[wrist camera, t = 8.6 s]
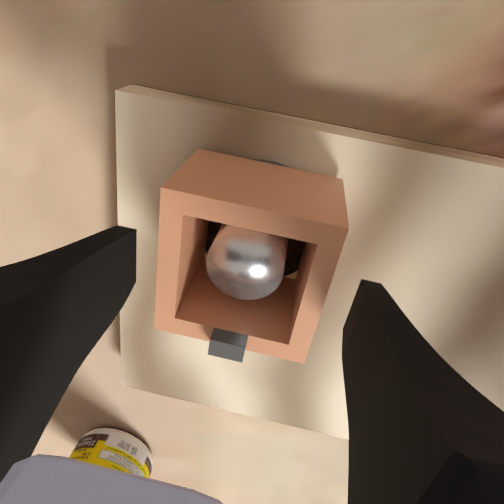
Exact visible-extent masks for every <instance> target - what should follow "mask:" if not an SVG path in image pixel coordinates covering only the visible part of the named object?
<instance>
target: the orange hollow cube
mask: <svg viewBox="0 0 504 504" xmlns="http://www.w3.org/2000/svg"><path fill="white" fill-rule="evenodd" d="M209 221H214V222H218V223H223V224H227V225H232V226H236V227H241V228H246V229H250V230H255V231H259V232H264V233H268V234H273V235H277V236H282V237H286V238H291V239H296V240H300V241H305V246H304V250H303V253H302V257H301V261H300V264H299V268H298V272H297V275H296V279H293V278H289V277H284V276H283V278H282V281H281V283H280V285H279V286H278V287H277V289H276V290H275V291H273V292H272V293H271V294H269V295H267V296H265V297H263V298H260V299H255V300H243V299H238V298H234V297H231V296H229V295H227V294H225V293H224V292H222V291H221V290H220V289H218V288H217V287H216V286H215V285H214V283H213V282H212V281H211V279H210V277H209V275H208V273H207V269H206V259H204V256H205V248H206V239H207V231H208V223H209ZM348 230H349V223H348V215H347V208H346V200H345V192H344V184H343V179H340V178H336V177H331V176H326V175H322V174H317V173H312V172H307V171H303V170H298V169H293V168H288V167H284V166H279V165H274V164H270V163H265V162H260V161H255V160H251V159H246V158H241V157H236V156H232V155H227V154H222V153H218V152H213V151H208V150H203V149H199V148H198V149H197V151H196V152H195V153H194V154H193V155H192V156H191V157H190V158H189V159H188V160H187V161H186V162H185V163H184V164H183V165H182V166H181V167H180V168H179V169H178V170H177V171H176V172H175V173H174V174H173V175H172V176H171V177H170V178H169V179H168V180H167V181H166V182H165V183H164V184H163V186H162V187H161V191H160V213H159V234H158V256H157V278H156V299H155V321H154V329H158V330H162V331H166V332H170V333H175V334H179V335H183V336H187V337H192V338H196V339H200V340H205V341H209V348H208V355H212V356H216V357H220V358H224V359H229V360H233V361H237V362H241V363H242V361H243V357H244V353H245V350H247V351H251V352H256V353H260V354H264V355H268V356H273V357H277V358H281V359H285V360H290V361H294V362H298V363H302V364H304V363H305V360H306V357H307V354H308V351H309V348H310V345H311V342H312V339H313V336H314V333H315V330H316V327H317V324H318V321H319V318H320V315H321V312H322V309H323V306H324V303H325V300H326V297H327V294H328V291H329V288H330V285H331V282H332V279H333V276H334V273H335V270H336V267H337V264H338V261H339V258H340V254H341V251H342V248H343V245H344V242H345V239H346V236H347V233H348Z"/></svg>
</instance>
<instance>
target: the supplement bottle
mask: <svg viewBox="0 0 504 504" xmlns="http://www.w3.org/2000/svg"><path fill="white" fill-rule="evenodd" d="M69 458H71V459H75V460H79V461H83V462H87V463H91V464H95V465H99V466H103V467H107V468H111V469H115V470H119V471H122V472H126V473H130V474H134V475H138V476H142V477H146V478H149V476H150V474H151V471H152V467H153V458H152V455H151V452H150V450H149V449H148V448H147V446H146V445H145V444H144V443H143V442H142V441H140V440H139V439H138V438H136V437H135V436H133V435H131V434H129V433H127V432H124V431H121V430H118V429H113V428H98V429H94V430H91V431H89V432H87V433H86V434H85V435H83V437H82V438H81V439H80V440H79V442H78V444H77V445H76V447H75V449H74V450H73V452H72V454H71V455H70V457H69Z"/></svg>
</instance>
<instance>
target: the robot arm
mask: <svg viewBox="0 0 504 504" xmlns="http://www.w3.org/2000/svg"><path fill="white" fill-rule="evenodd" d="M136 246H137V229H132V228H128V227H123V226H119V225H118V226H115V227H112V228H109V229H106V230H104V231H101V232H99V233H96V234H94V235H91V236H89V237H86V238H84V239H81V240H79V241H76V242H74V243H72V244H69V245H67V246H64V247H61V248H58V249H56V250H53V251H50V252H47V253H45V254H42V255H39V256H36V257H33V258H30V259H27V260H24V261H20V262H17V263H14V264H10V265H6V266H2V267H0V504H223V503H222V502H221V501H219V500H217V499H215V498H212V497H210V496H208V495H205V494H203V493H200V492H198V491H195V490H193V489H189V488H185V487H181V486H177V485H173V484H170V483H166V482H162V481H158V480H154V479H150V478H146V477H142V476H138V475H134V474H130V473H126V472H122V471H119V470H115V469H111V468H107V467H103V466H99V465H95V464H91V463H87V462H83V461H79V460H75V459H71V458H67V457H62V456H52V455H41V454H38V455H35V456H31V455H32V453H33V451H34V449H35V447H36V445H37V443H38V441H39V439H40V437H41V435H42V433H43V431H44V429H45V427H46V425H47V424H48V422H49V420H50V418H51V416H52V414H53V413H54V411H55V409H56V407H57V405H58V403H59V402H60V400H61V398H62V396H63V394H64V393H65V391H66V389H67V387H68V386H69V384H70V382H71V381H72V379H73V377H74V375H75V374H76V372H77V370H78V369H79V367H80V366H81V364H82V363H83V361H84V360H85V358H86V357H87V355H88V354H89V353H90V351H91V350H92V349H93V347H94V346H95V345H96V343H97V342H98V340H99V339H100V338H101V336H102V335H103V334H104V332H105V331H106V330H107V328H108V327H109V326H110V324H111V323H112V321H113V320H114V319H115V317H116V316H117V314H118V313H119V312H120V310H121V309H122V307H123V306H124V304H125V302H126V300H127V299H128V297H129V295H130V293H131V291H132V289H133V287H134V285H135V283H136ZM342 366H343V376H344V386H345V396H346V406H347V416H348V429H349V476H348V504H504V411H503V410H501V409H500V408H499V407H497V406H496V405H495V404H494V403H492V402H491V401H490V400H489V399H487V398H486V397H485V396H484V395H483V394H481V393H480V392H479V391H478V390H476V389H475V388H474V387H473V386H472V385H471V384H470V383H468V382H467V381H466V380H465V379H464V378H463V377H462V376H461V375H460V374H459V373H458V372H456V371H455V370H454V369H453V368H452V367H451V366H450V365H449V364H448V363H447V362H446V361H445V360H444V359H443V358H442V357H441V356H440V355H439V354H438V353H437V352H436V351H435V349H434V348H433V347H432V346H431V345H430V344H429V343H428V342H427V341H426V339H425V338H424V337H423V336H422V335H421V334H420V332H419V331H418V330H417V329H416V328H415V326H414V325H413V324H412V323H411V321H410V320H409V319H408V318H407V316H406V315H405V314H404V313H403V311H402V310H401V309H400V307H399V306H398V305H397V303H396V302H395V301H394V299H393V298H392V297H391V295H390V294H389V293H388V291H387V290H386V289H385V288H384V286H383V285H382V284H381V283H377V282H373V281H368V280H364V279H361V281H360V284H359V286H358V289H357V292H356V295H355V297H354V300H353V303H352V305H351V308H350V311H349V313H348V316H347V319H346V321H345V324H344V327H343V335H342Z"/></svg>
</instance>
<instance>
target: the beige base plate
mask: <svg viewBox="0 0 504 504" xmlns="http://www.w3.org/2000/svg"><path fill="white" fill-rule="evenodd" d="M115 120H116V167H117V213H118V225H119V226H123V227H128V228H132V229H137V246H136V283H135V285H134V287H133V289H132V291H131V293H130V295H129V297H128V299H127V300H126V302H125V304H124V306H123V307H122V309H121V310H120V353H121V385H122V386H126V387H130V388H134V389H139V390H143V391H147V392H151V393H155V394H160V395H164V396H168V397H172V398H176V399H181V400H185V401H189V402H193V403H197V404H201V405H206V406H210V407H214V408H218V409H222V410H227V411H231V412H235V413H239V414H243V415H247V416H252V417H256V418H260V419H264V420H268V421H273V422H277V423H281V424H285V425H289V426H294V427H298V428H302V429H306V430H310V431H314V432H319V433H323V434H327V435H331V436H335V437H340V438H344V439H348V440H349V429H348V416H347V406H346V396H345V386H344V376H343V366H342V335H343V327H344V324H345V321H346V319H347V316H348V313H349V311H350V308H351V305H352V303H353V300H354V297H355V295H356V292H357V289H358V286H359V284H360V281H361V279H364V280H368V281H373V282H377V283H381V284H382V285H383V286H384V288H385V289H386V290H387V291H388V293H389V294H390V295H391V297H392V298H393V299H394V301H395V302H396V303H397V305H398V306H399V307H400V309H401V310H402V311H403V313H404V314H405V315H406V316H407V318H408V319H409V320H410V321H411V323H412V324H413V325H414V326H415V328H416V329H417V330H418V331H419V332H420V334H421V335H422V336H423V337H424V338H425V339H426V341H427V342H428V343H429V344H430V345H431V346H432V347H433V348H434V349H435V351H436V352H437V353H438V354H439V355H440V356H441V357H442V358H443V359H444V360H445V361H446V362H447V363H448V364H449V365H450V366H451V367H452V368H453V369H454V370H455V371H456V372H458V373H459V374H460V375H461V376H462V377H463V378H464V379H465V380H466V381H467V382H468V383H470V384H471V385H472V386H473V387H474V388H475V389H476V390H478V391H479V392H480V393H481V394H483V395H484V396H485V397H486V398H487V399H489V400H490V401H491V402H492V403H494V404H495V405H496V406H497V407H499V408H500V409H501V410H503V411H504V158H499V157H494V156H489V155H484V154H479V153H474V152H469V151H463V150H458V149H453V148H448V147H443V146H438V145H433V144H428V143H423V142H418V141H413V140H408V139H403V138H398V137H393V136H388V135H383V134H378V133H373V132H368V131H363V130H358V129H353V128H348V127H343V126H338V125H333V124H328V123H323V122H318V121H313V120H308V119H303V118H298V117H293V116H288V115H283V114H278V113H273V112H268V111H263V110H258V109H253V108H248V107H243V106H238V105H233V104H228V103H223V102H218V101H213V100H208V99H203V98H198V97H193V96H188V95H183V94H178V93H173V92H168V91H163V90H158V89H153V88H148V87H143V86H137V85H129V86H126V87H123V88H120V89H117V90H115ZM198 148H199V149H203V150H208V151H213V152H218V153H222V154H227V155H232V156H236V157H241V158H246V159H262V160H269V161H273V162H277V163H280V164H282V165H285V166H287V167H289V168H293V169H298V170H303V171H307V172H312V173H317V174H322V175H326V176H331V177H336V178H340V179H343V184H344V192H345V200H346V208H347V215H348V223H349V230H348V233H347V236H346V239H345V242H344V245H343V248H342V251H341V254H340V258H339V261H338V264H337V267H336V270H335V273H334V276H333V279H332V282H331V285H330V288H329V291H328V294H327V297H326V300H325V303H324V306H323V309H322V312H321V315H320V318H319V321H318V324H317V327H316V330H315V333H314V336H313V339H312V342H311V345H310V348H309V351H308V354H307V357H306V360H305V363H304V364H302V363H298V362H294V361H290V360H285V359H281V358H277V357H273V356H268V355H264V354H260V353H256V352H251V351H247V350H245V353H244V357H243V361H242V363H241V362H237V361H233V360H229V359H224V358H220V357H216V356H212V355H208V348H209V341H205V340H200V339H196V338H192V337H187V336H183V335H179V334H175V333H170V332H166V331H162V330H158V329H154V321H155V299H156V278H157V256H158V234H159V213H160V191H161V187H162V186H163V184H164V183H165V182H166V181H167V180H168V179H169V178H170V177H171V176H172V175H173V174H174V173H175V172H176V171H177V170H178V169H179V168H180V167H181V166H182V165H183V164H184V163H185V162H186V161H187V160H188V159H189V158H190V157H191V156H192V155H193V154H194V153H195V152H196V151H197V149H198ZM207 254H208V253H207V252H206V250H205V256H204V259H206V258H207ZM297 272H298V270H297V271H296V272H294V273H292V274H289V275H287V276H284V277H289V278H293V279H296V275H297Z"/></svg>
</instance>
